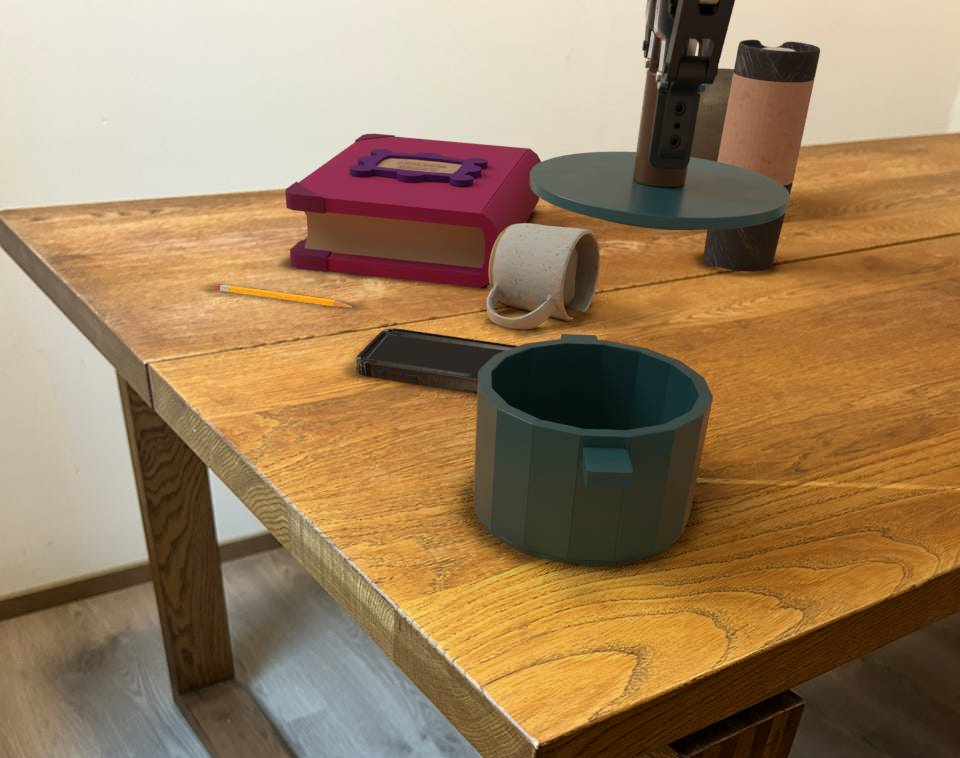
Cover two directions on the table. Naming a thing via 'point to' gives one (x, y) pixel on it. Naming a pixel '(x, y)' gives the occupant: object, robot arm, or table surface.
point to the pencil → (280, 295)
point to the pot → (588, 449)
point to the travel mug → (763, 140)
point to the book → (412, 208)
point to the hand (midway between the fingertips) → (662, 157)
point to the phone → (427, 358)
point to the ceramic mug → (542, 273)
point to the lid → (658, 186)
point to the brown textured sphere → (712, 116)
